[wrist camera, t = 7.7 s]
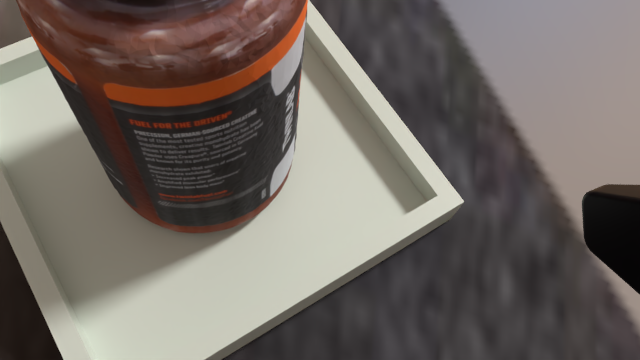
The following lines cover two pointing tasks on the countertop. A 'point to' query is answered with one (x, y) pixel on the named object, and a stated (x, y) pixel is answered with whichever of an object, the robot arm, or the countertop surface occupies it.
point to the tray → (215, 247)
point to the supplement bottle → (181, 99)
